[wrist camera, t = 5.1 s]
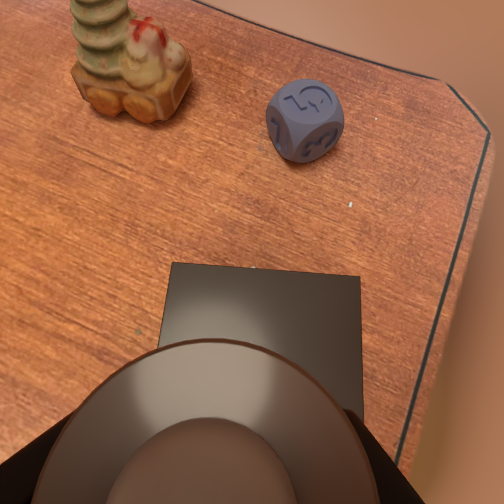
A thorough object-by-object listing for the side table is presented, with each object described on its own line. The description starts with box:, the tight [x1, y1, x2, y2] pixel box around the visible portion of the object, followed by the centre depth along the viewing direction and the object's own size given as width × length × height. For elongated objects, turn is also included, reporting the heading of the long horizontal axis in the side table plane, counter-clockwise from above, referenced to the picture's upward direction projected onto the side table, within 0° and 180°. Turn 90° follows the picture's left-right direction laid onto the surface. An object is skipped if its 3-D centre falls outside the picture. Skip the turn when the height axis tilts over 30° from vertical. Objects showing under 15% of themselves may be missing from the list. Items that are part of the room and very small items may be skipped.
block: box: [157, 262, 364, 423], centre depth 18 cm, size 8×8×8 cm
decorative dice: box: [266, 79, 344, 163], centre depth 26 cm, size 4×4×4 cm
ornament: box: [70, 0, 193, 123], centre depth 25 cm, size 8×6×10 cm
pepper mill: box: [31, 338, 380, 504], centre depth 8 cm, size 5×5×9 cm
